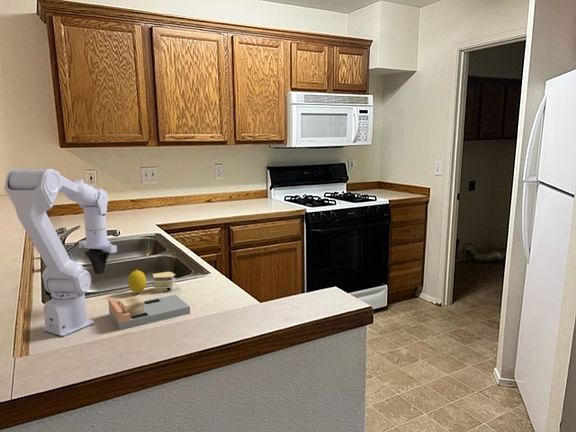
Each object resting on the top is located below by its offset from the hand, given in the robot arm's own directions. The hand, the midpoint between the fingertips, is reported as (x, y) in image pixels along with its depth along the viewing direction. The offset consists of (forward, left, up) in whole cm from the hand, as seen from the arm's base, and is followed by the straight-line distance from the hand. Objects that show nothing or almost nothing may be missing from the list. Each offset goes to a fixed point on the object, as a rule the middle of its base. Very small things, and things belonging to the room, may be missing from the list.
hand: (99, 273), depth 126 cm
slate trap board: (+1, -18, -10) cm, 21 cm away
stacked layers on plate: (+19, -7, -10) cm, 23 cm away
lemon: (+12, -2, -10) cm, 16 cm away
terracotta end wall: (-6, -15, -8) cm, 18 cm away
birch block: (-3, -16, -8) cm, 18 cm away
